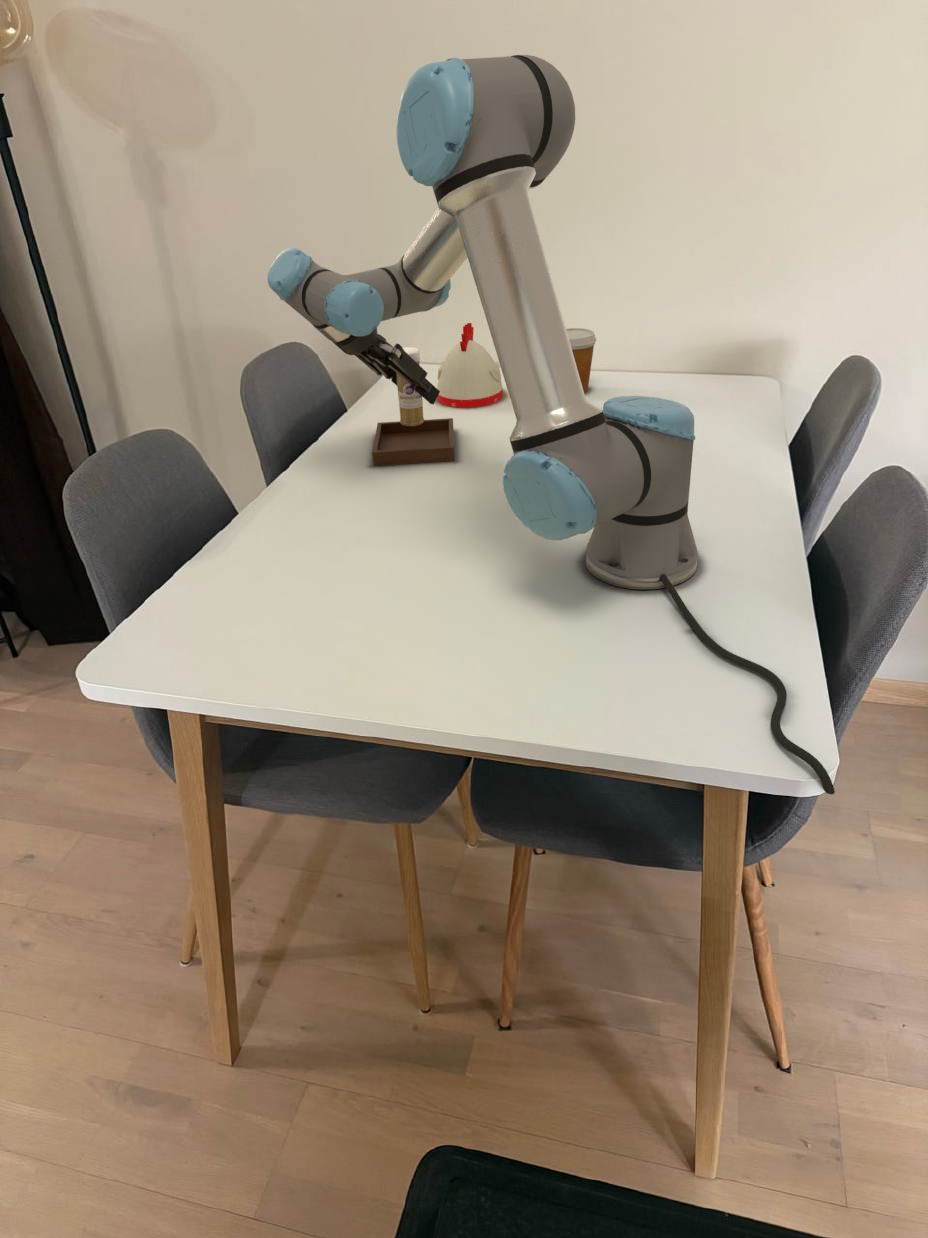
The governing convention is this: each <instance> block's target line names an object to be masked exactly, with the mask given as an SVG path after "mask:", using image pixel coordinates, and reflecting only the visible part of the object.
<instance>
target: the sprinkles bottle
mask: <svg viewBox="0 0 928 1238" xmlns="http://www.w3.org/2000/svg"><path fill="white" fill-rule="evenodd" d="M402 348H403V349H404V351H405V352H406V353H407V354H408V355H409V356H410V357H411V358H412V359H413V360H414V361H415V362H416V363H418V364H419V365H420V362H421V361H420V360H421V353H420V349H418V347H414V346H413V347H412V346H405V347H403V346H402ZM410 385H411V383H410V382H408V381H407V380H406V379H404V378H403V377H402V376H400V375H399V374H398V373H397V386H396V388H397V397H398V408H399V418H400V420H399V421H400V423H401V424H402V425H405V426H417V425H421V424H422V423H423V422H424V420H425V418H424V408H423V407H424V405H423V404H424V403H423V397H422V396H421V395H420V394H419V393H418V392H417V391H416V390H413V389H411V388H410Z"/></svg>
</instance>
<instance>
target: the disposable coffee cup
mask: <svg viewBox="0 0 928 1238" xmlns="http://www.w3.org/2000/svg"><path fill="white" fill-rule="evenodd" d="M566 331H567V334H568V338H569V342H570V345H571V349H572V352H573V356H574V359H575V363H576V366H577V370H578V373H579V377H580V380H581V384H582V388H583V391H584V394H585V393H587V392H588V391H589V383H590V376H591V370H592V363H593V355H594V347H595V345H596V342H597V337H596V335H595V332H594V330H592V329H589V328H588V329H587V328H583V327H582V328H581V327H568V328H566Z"/></svg>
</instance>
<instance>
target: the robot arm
mask: <svg viewBox="0 0 928 1238" xmlns="http://www.w3.org/2000/svg"><path fill="white" fill-rule="evenodd" d="M575 125H576V105H575V100H574V95H573V92H572V89H571V88H570V86H569V82H568V81H567V80H566V78H565V77H564V75H563V73H561V71H560V70H559V69H558V68H556V67H555V65H553V64H552V63H550V62H549V61H546V60H545V59H543V58H540V57H538V56H535V55H531V54H515V55H509V56H508V55H507V56H496V57H478V58H459V57H450V58H448V59H447V58H446V60H443V61H435V62H429V63H427V64H423V65H422V66H420V67H419V68H418V69H416V70H415V72H413V74H412V75H411V76H410V78H409V79H408V80H407V82H406V84H405V87H404V88H403V91H402V93H401V96H400V99H399V107H398V110H397V114H396V126H395V127H396V131H395V132H396V143H397V149H398V153H399V156H400V160H401V162H402V165H403V167H404V169H405V171H406V172H407V174H408V176H410V177H412V179H413V180H414V181H415V182H416V183H417V184H420V185H422V186H426V187H432V188H431V189H432V190H433V194H434V197H435V201H436V205H437V208H436V210H435V211H434V213H433V214H432V215H431V216H430V218H429V220H428V221H427V222H426V224H425V225H424V226H423V228H422V229H421V231H420V232H419V233H418V235H417V236H416V238H415V239H414V240H413V242H412V243H411V244H410V246H409V247H408V248H407V250H406V251H405V253H404V254H403V255H402V256H401V258H400V259H399V261H398V262H396V263H394V264H392V265H387V266H383V267H378V268H374V269H370V270H366V271H359V272H355V273H351V274H341V273H338V272H336V271H333V270H330V269H328V268H326V267H323V266H321V265H319V263H316V262H315V261H314V260H313V257H312V256H310V255H308V254H307V253H305V252H304V251H302V250H301V249H300V248H298V247H289V248H287V249H285V250H283V251H282V252H280V253H279V254H278V255H277V256H276V258H274V260H273V262H272V263H271V265H270V267H269V268H268V272H267V278H266V279H267V284H268V287H269V288H270V289H271V290H272V291H273V292H274V293H275V294H276V296H278V298H279V299H280V301H283V302H284V303H286V305H288V306H289V307H291V308H292V309H293V310H295V312H297V314H299V315H300V316H301V317H303V318H304V319H305V320H306V321H308V322H309V323H310V324H311V325H312V326H313V327H314V328H315V329H316V330H317V331H318V332H319V333H321V334H322V336H323V337H325V339H327V340H328V341H330V342H332V343H333V344H334V345H335V346H336V347H337V348H338V349H340V351H342V352H343V353H344V354H346V355H348V356H354V357H356V358H357V359H358V360H360V361H361V362H362V363H363V364H364V365H365V366H367V368H369V369H370V370H371V371H372V372H373V373H375V374H376V375H377V376H380V377H382V376H383V377H384V378H385V379H386V380H390V381H391V382H392V383H393V384H394V385H395V386H396V387H397V373H398V374H399V375H400V376H402V377H403V378H404V379H406V380H407V381H408V382H410V383H411V385H410V388H411V389H413V390H416V391H417V392H418V393H419V394H420V395H421V396H422V399H423V398H424V400H426V401H427V403H429V404H430V405H435V402H436V401H437V400H438V395H439V393H440V391H439V390H438V389H437V386H435V385H433V384H432V383H431V382H430V381H429V379H427V376H428V372H427V371H426V370H425V369H424V368H423V367H422V366H421V365H420V363H419V364H418V363H416V362H415V361H414V360H413V359H412V358H411V357H410V356H409V355H408V354H407V353H406V352H405V351H404V349H403V346H402V345H401V344H399V343H395V344H394V346H393V345H392V344H391V343H389V342H388V341H387V339H386V338H385V337H384V336H382V335H381V334H379V333H378V327H379V326H380V324H381V323H382V322H384V321H385V322H386V321H388V320H389V321H390V320H391V319H396V318H400V317H403V316H408V315H412V314H416V313H423V312H428V311H431V310H432V309H434V308H436V307H440V306H442V305H443V304H445V303H446V302H447V300H448V299H449V296H450V290H451V288H452V283H451V278H453V276H454V274H455V273H456V272H457V271H458V270H459V269H460V267H462V266H463V264H464V263H465V262H466V261H467V260H468V263H469V267H470V270H471V273H472V277H473V280H474V282H475V286H476V289H477V294H478V296H479V299H480V303H481V306H482V310H483V312H484V317H485V319H486V323H487V326H488V330H489V333H490V337H491V339H492V342H493V347H494V349H495V354H496V356H497V360H498V364H499V367H500V369H501V370H500V371H501V372H502V376H503V379H504V382H505V386H506V390H507V393H508V396H509V399H510V401H511V402H510V403H511V406H512V409H513V412H514V414H515V420H516V423H515V425H514V428H513V430H512V431H511V434H510V436H509V442H510V446H511V450H512V453H513V455H512V456H511V457H510V458H509V460H508V461H507V462H506V464H505V466H504V469H503V473H504V475H503V476H502V486H503V491H504V495H505V498H506V500H507V503H508V505H509V507H510V509H511V511H512V512H513V514H514V516H515V517H516V518H517V520H519V521H520V523H521V524H522V525H523V526H524V527H525V528H527V529H529V530H530V531H531V532H532V533H533V534H535V535H536V536H538V537H541V538H542V539H545V540H549V541H563V540H567V539H569V538H572V537H574V536H577V535H583V534H586V533H588V532H590V531H591V530H592V532H591V535H590V537H589V540H588V543H587V545H586V547H585V548H586V549H585V566H586V568H587V570H588V571H589V572H590V574H591V575H592V576H594V577H595V578H597V579H598V580H600V581H602V582H603V583H607V584H608V585H612V586H616V587H619V588H625V589H631V590H658V589H659V590H660V589H666V590H667V592H668V594H669V595H670V596H671V598H672V600H673V601H674V603H675V605H676V606H677V608H678V610H679V611H680V613H681V614H682V616H683V617H684V618H685V620H686V621H687V623H688V624H689V625H690V627H691V628H692V629H693V631H694V633H695V634H696V635H697V636H698V637H699V639H700V640H701V641H702V642H703V643H704V644H705V645H707V647H708V648H710V649H711V651H713V652H714V653H716V654H717V655H718V656H720V657H722V658H723V659H725V660H727V661H729V662H730V663H733V664H735V665H738V666H739V667H743V668H745V669H746V670H747V669H748V670H750V671H752V672H754V673H756V674H758V675H760V676H763V677H764V678H765V679H766V680H767V681H768V682H770V683H771V684H772V685H773V687H774V688H775V689H776V692H777V699H776V702H775V704H774V708H773V710H772V712H771V716H770V729H771V732H772V735H773V736H774V738H775V740H776V741H777V743H778V744H779V745H780V746H781V747H783V749H785V750H786V751H788V752H789V753H791V754H792V755H794V756H796V757H797V758H799V759H800V760H802V761H803V762H805V763H806V765H808V766H809V767H810V768H811V769H812V770H813V771H814V772H815V774H816V776H817V777H818V779H819V781H820V783H821V785H822V788H823V791H824V792H825V793H826V794H828V795H834V794H835V792H836V791H835V788H834V784H833V781H832V779H831V776H830V775H829V773H828V771H827V769H826V768H825V767H824V766H823V764H822V763H821V761H819V759H818V758H816V757H815V756H814V755H813V754H811V752H809V751H807V750H806V749H804V748H802V747H800V746H799V745H797V744H796V743H794V742H793V741H791V740H790V739H789V738H787V736H786V735H785V734H784V732H783V730H782V728H781V717H782V715H783V712H784V709H785V706H786V702H787V698H788V697H787V689H786V686H785V685H784V683H783V681H782V680H781V679H780V678H779V677H778V676H777V675H776V674H775V673H774V672H773V671H771V670H770V669H768V668H766V667H764V666H763V665H760V664H758V663H756V662H755V661H752V660H749V659H746V658H745V657H741V656H739V655H737V654H735V653H733V652H731V651H729V650H727V649H726V648H724V647H722V646H721V645H720V644H718V643H717V642H716V641H715V640H714V639H713V638H711V637H710V636H709V634H707V632H706V631H705V630H704V629H703V628H702V626H701V625H700V624H699V622H698V621H697V620H696V618H695V616H693V614H692V613H691V612H690V610H689V609H688V606H686V604H685V602H684V600H683V599H682V597H681V596H680V594H679V592H678V591H677V589H675V587H674V586H676V585H679V584H681V583H683V582H686V581H687V580H688V579H690V578H691V577H692V576H693V575H694V574H695V573H696V571H697V567H698V558H699V553H698V547H697V543H696V540H695V536H694V533H693V530H692V526H691V522H690V519H689V513H688V512H689V498H690V489H691V478H692V477H691V475H692V465H693V453H694V442H695V440H696V435H695V416H694V413H693V411H692V410H691V409H690V408H689V407H688V406H686V405H684V404H682V403H680V402H678V401H674V400H671V399H667V398H662V397H655V396H646V395H624V396H616V397H612V398H609V399H608V400H606V401H605V402H604V403H603V406H602V407H600V406H598V405H596V404H594V403H593V402H591V401H589V400H588V399H587V398H586V395H585V393H584V391H583V388H582V384H581V380H580V377H579V373H578V370H577V366H576V363H575V359H574V356H573V352H572V349H571V345H570V342H569V338H568V334H567V331H566V329H567V328H566V324H565V321H564V317H563V314H562V311H561V307H560V303H559V299H558V296H557V293H556V289H555V286H554V282H553V278H552V274H551V270H550V268H549V263H548V262H547V258H546V257H547V256H546V254H545V249H544V247H543V246H544V245H543V243H542V240H541V239H542V238H541V235H540V232H539V229H538V224H537V222H536V218H535V214H534V210H533V208H532V204H531V200H530V197H529V191H530V190H531V189H535V188H537V187H539V186H541V184H542V183H543V182H544V181H545V180H546V179H547V177H548V176H549V175H550V174H551V173H552V172H553V171H554V169H556V167H557V166H558V164H559V163H560V162H561V160H562V158H563V157H564V155H565V154H566V152H567V150H568V148H569V146H570V144H571V140H572V139H573V134H574V131H575V127H576V126H575Z"/></svg>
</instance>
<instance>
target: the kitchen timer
mask: <svg viewBox="0 0 928 1238" xmlns="http://www.w3.org/2000/svg"><path fill="white" fill-rule="evenodd" d="M474 328H475V327H474V326H473V324H472V322H466V324H464V325H463V326H462V333H461V334H460V336H461V341H459V342H458V343H456V344H455V345H454V346H453V347H452V348H451V349H450V350H449V352H448V353H447V354H446V356H445V358H444V360H442V361H441V363H440V367H438V371H437V380H438V381H437V386H436V388H437V389H438V390H439V391H440V393H439V395H438V397H437V401H438V403H440V404H442V405H444V406H447V407H452V408H465V409H467V408H468V409H469V408H478V407H485V406H488V405H491V404H495V403H496V402H497V403H498V402H499V401H500V400H501V399H502V398H503V382H502V374H501V370H500V369H501V368H500V363H499V361H494V359H493V357H492V356H491V354H490V353H489V351H488V350H487V349H486V348H485V347H484V346H483V345H481V344H480V343H479V342H477V341H474V330H475V329H474Z"/></svg>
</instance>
